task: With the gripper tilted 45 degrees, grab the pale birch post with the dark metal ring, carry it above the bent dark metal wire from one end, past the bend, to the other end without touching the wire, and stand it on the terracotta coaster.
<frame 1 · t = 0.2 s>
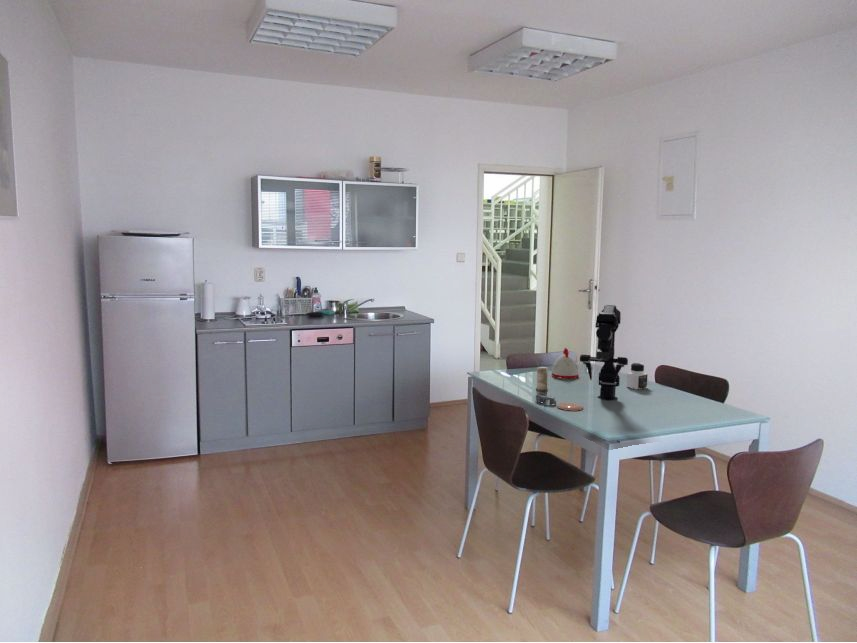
hand: (602, 381, 260), 15 cm above the table, tool pointing down, fingers open, 9 cm apart
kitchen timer: (564, 376, 340), on the table
terracotta coaster: (570, 407, 278), on the table
birch ring post: (541, 395, 299), on the table
bent wire: (540, 402, 285), on the table
medicine bottle: (636, 387, 315), on the table
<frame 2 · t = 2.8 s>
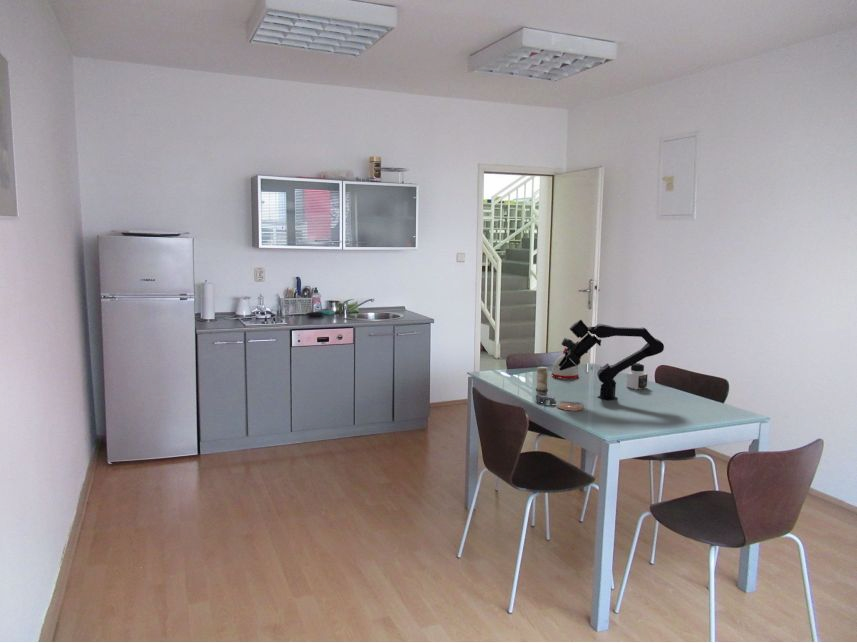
hand: (559, 367, 296), 13 cm above the table, tool tilted 45°, fingers open, 9 cm apart
nothing on the table moved.
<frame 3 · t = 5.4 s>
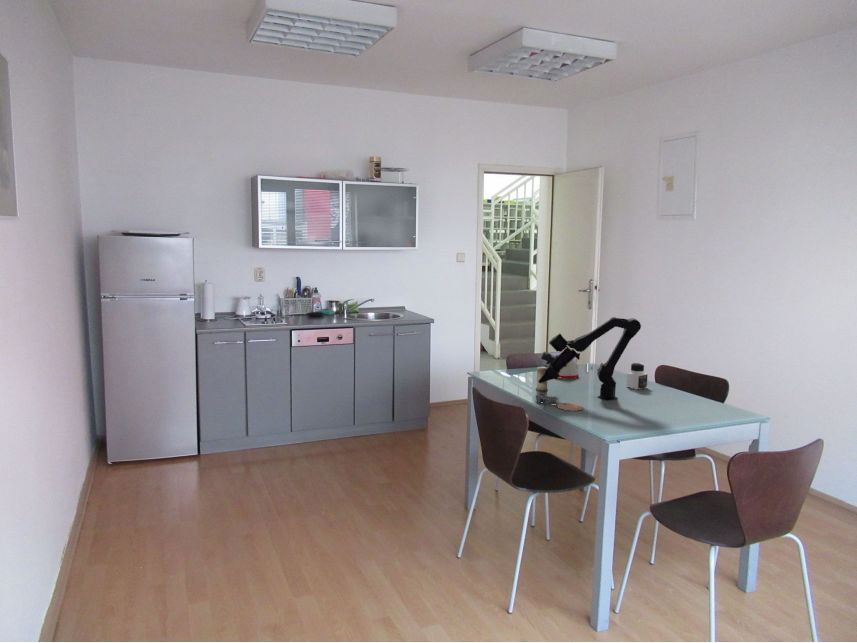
hand: (539, 381, 299), 7 cm above the table, tool tilted 45°, fingers closed on birch ring post, 5 cm apart
birch ring post: (541, 395, 299), on the table, touching gripper
everything else where it was.
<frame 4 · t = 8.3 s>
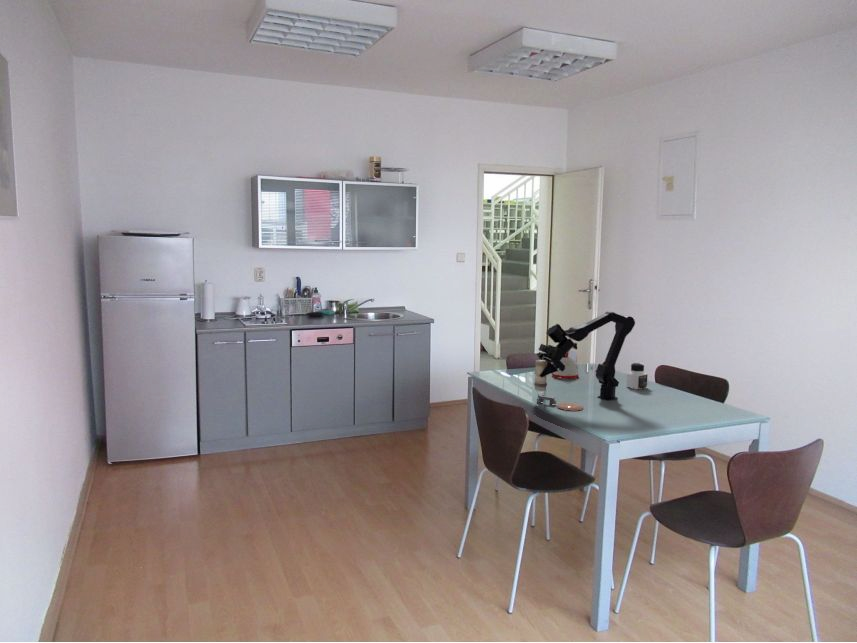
hand: (537, 375, 284), 13 cm above the table, tool tilted 45°, fingers closed on birch ring post, 5 cm apart
birch ring post: (540, 389, 285), point 6 cm above the table, touching gripper
everything else where it was.
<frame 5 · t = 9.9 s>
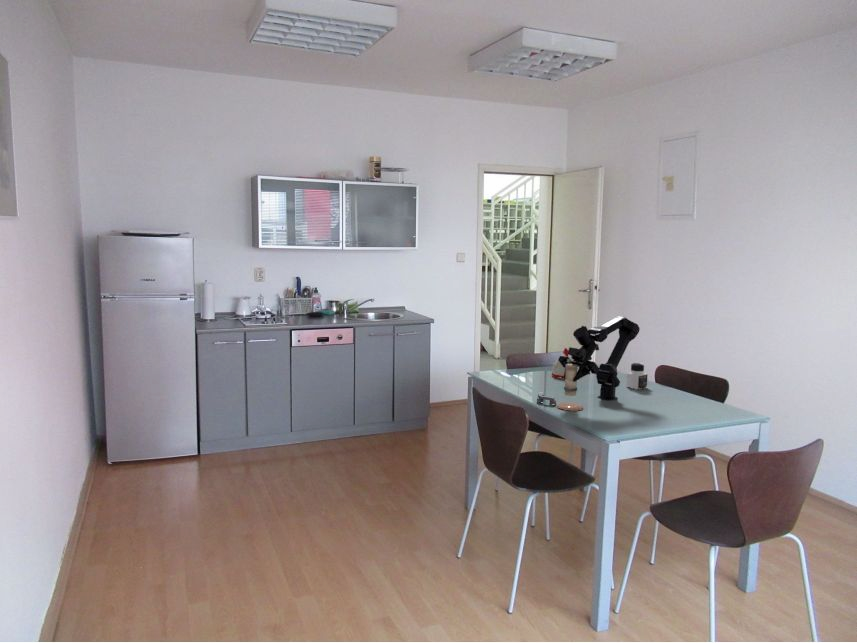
hand: (568, 380, 275), 12 cm above the table, tool tilted 45°, fingers closed on birch ring post, 5 cm apart
birch ring post: (570, 394, 277), point 6 cm above the table, touching gripper
everything else where it was.
when the fingers open (8 cm above the table, at t = 11.4 s): birch ring post drops 1 cm, resting on terracotta coaster.
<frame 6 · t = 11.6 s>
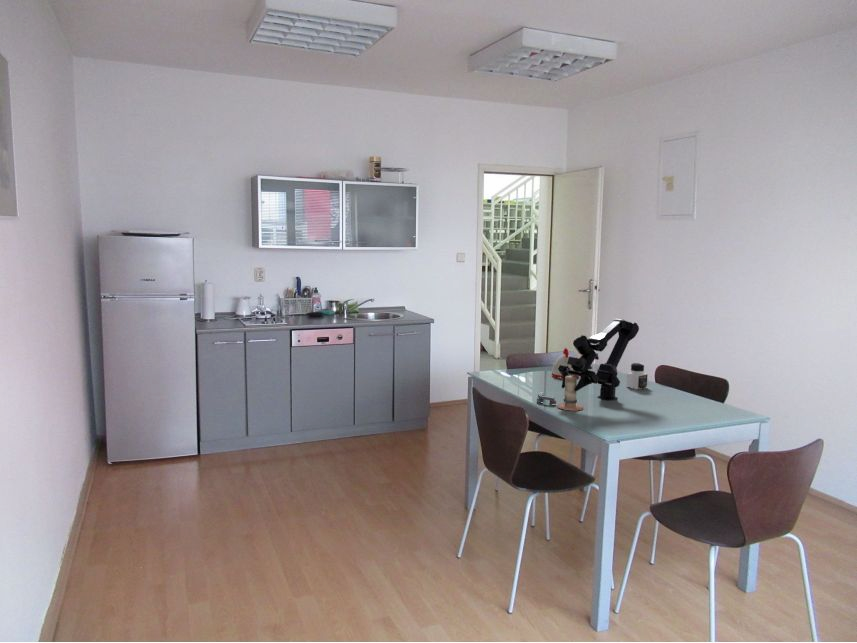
hand: (568, 389, 276), 8 cm above the table, tool tilted 45°, fingers open, 7 cm apart
birch ring post: (570, 406, 278), point 1 cm above the table, touching terracotta coaster
everything else where it was.
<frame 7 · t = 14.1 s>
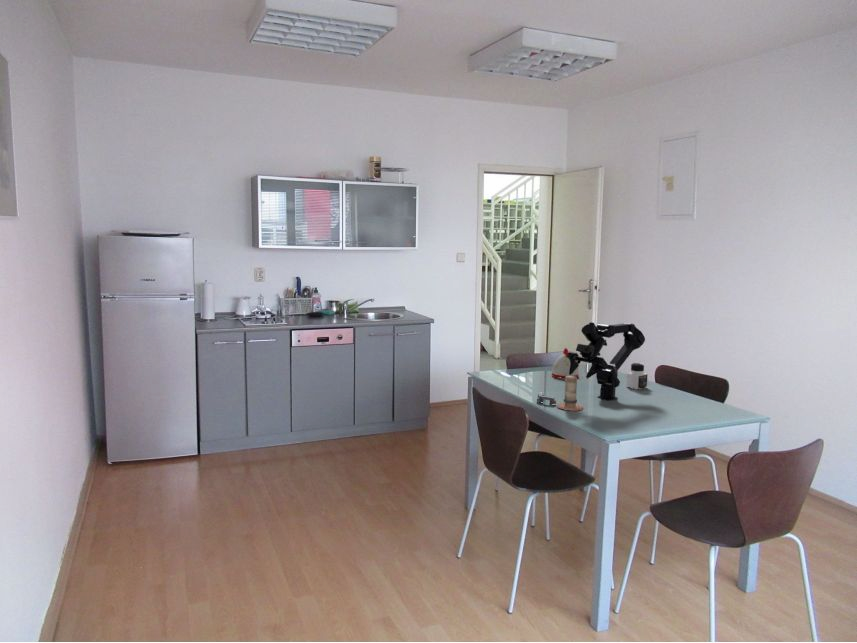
hand: (578, 376, 279), 13 cm above the table, tool tilted 45°, fingers open, 9 cm apart
nothing on the table moved.
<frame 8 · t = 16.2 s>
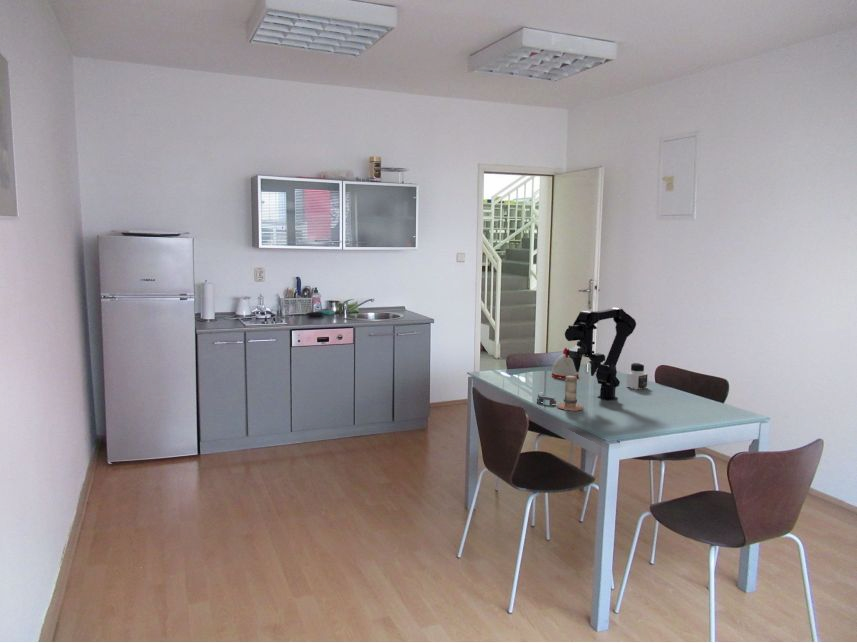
hand: (584, 373, 285), 13 cm above the table, tool pointing down, fingers open, 9 cm apart
nothing on the table moved.
at the end: birch ring post 0.0 cm off-centre on the terracotta coaster, point 0.6 cm above the terracotta coaster's base; birch ring post tilted 0°; bent wire moved 0.0 cm from its start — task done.
